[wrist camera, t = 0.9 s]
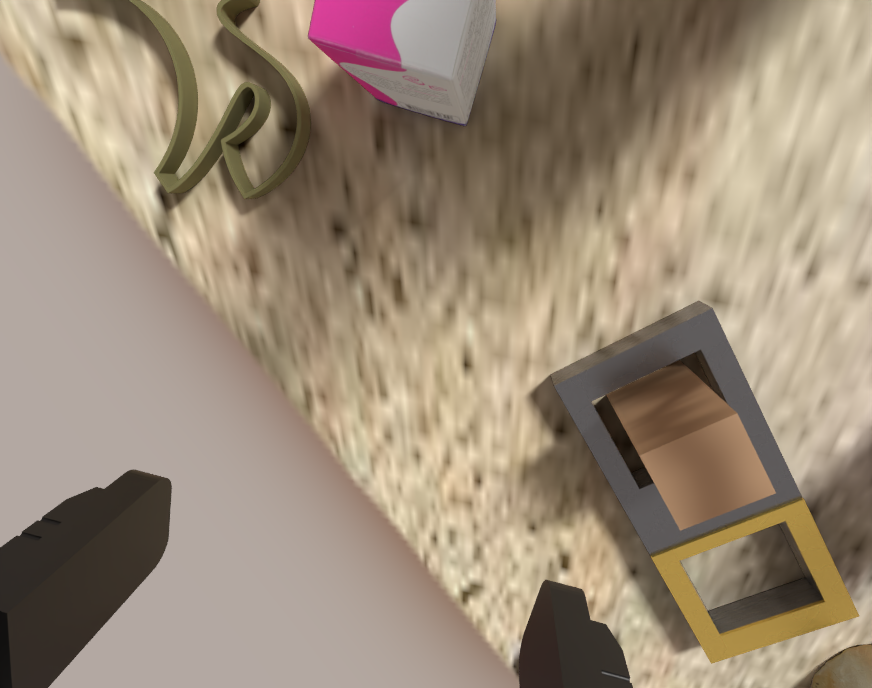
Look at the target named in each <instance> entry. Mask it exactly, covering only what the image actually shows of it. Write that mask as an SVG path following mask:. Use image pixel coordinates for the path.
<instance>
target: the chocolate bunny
mask: <svg viewBox="0 0 872 688" xmlns="http://www.w3.org/2000/svg"><path fill="white" fill-rule="evenodd" d="M810 688H872V644H871V645H859V646H857V647H852V648H848V649H845V650H844V651H843V652H842V653H841V654H840V655H837V656H835V657H833V659H831V660H829V661H827V662H826V663H825V665H824V666H822V667H821V669H819V671H818V672H816V673H815V675H814V676H813V679H812V684H811V686H810Z"/></svg>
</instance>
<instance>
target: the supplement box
mask: <svg viewBox="0 0 872 688" xmlns="http://www.w3.org/2000/svg"><path fill="white" fill-rule="evenodd" d="M495 24H496V0H315V2H314V8H313V12H312V17H311V22H310V28H309V33H308V38H309V39H310V40H311V41H312V42H313V43H314V44H315V45H316V46H317V47H318V48H320V49H321V50H322V51H323V52H324V53H325V54H326V55H327V56H329V57H330V58H331V59H332V60H333V61H334V62H336V63H337V64H338V65H339V66H340V67H341V68H342V69H343V70H345V71H346V72H347V73H348V74H349V75H350V76H351V77H353V78H354V79H355V80H356V81H357V82H358V83H359V84H361V85H362V86H363V87H364V88H365V89H366V90H367V91H368V92H370V93H371V94H372V95H373V96H374V97H375V98H376V99H377V100H379V101H381V102H384V103H387V104H390V105H393V106H397V107H400V108H403V109H406V110H410V111H413V112H417V113H420V114H423V115H427V116H430V117H434V118H437V119H441V120H444V121H448V122H451V123H455V124H459V125H463V126H466V125H467V123H468V119H469V116H470V112H471V109H472V105H473V102H474V99H475V95H476V92H477V88H478V85H479V81H480V78H481V74H482V71H483V67H484V64H485V60H486V57H487V53H488V50H489V46H490V43H491V39H492V36H493V32H494V29H495Z"/></svg>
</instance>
